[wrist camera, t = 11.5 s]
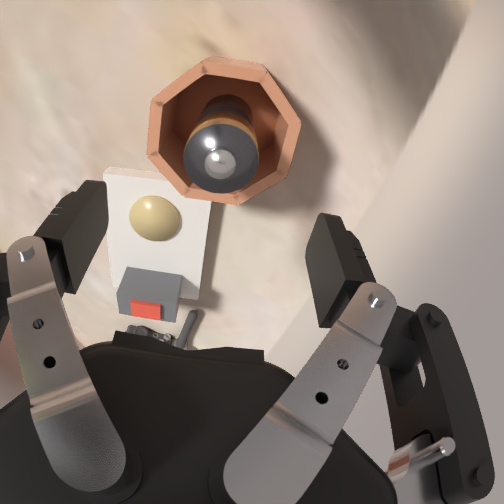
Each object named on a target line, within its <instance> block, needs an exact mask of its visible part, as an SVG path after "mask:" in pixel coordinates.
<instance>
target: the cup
mask: <svg viewBox="0 0 504 504" xmlns="http://www.w3.org/2000/svg"><path fill="white" fill-rule="evenodd" d="M224 94H231V95H235V96H238V97H240V98H242V99H243V100H245V101H246V102H247V104H248V105H249V106H250V108H251V111H252V115H253V122H254V129H255V134H256V137H257V144H258V151H259V164H258V168H257V171H256V173H255V175H254V177H253V178H252V180H251V181H250V182H249V183H248V184H247V185H246V186H244V187H243V188H241V189H239V190H237V191H234V192H231V193H224V194H218V193H212V192H208V191H205V190H203V189H201V188H200V187H198V186H197V185H196V184H194V183H193V182H192V181H191V179H190V178H189V177H188V175H187V173H186V171H185V168H184V162H183V154H184V149H185V146H186V143H187V141H188V139H189V137H190V135H191V133H192V131H193V129H194V127H195V126H196V124H197V122H198V120H199V118H200V116H201V114H202V111H203V109H204V108H205V106H206V104H207V103H208V102H209V101H210V100H211V99H213V98H215V97H217V96H219V95H224ZM152 99H153V100H151V105H150V116H149V127H148V141H147V155H148V158H149V159H150V161H151V162H152V163H153V164H154V165H155V166H156V167H157V168H158V170H159V171H160V172H161V173H162V174H163V175H164V176H165V177H166V179H167V180H168V181H169V182H170V183H171V184H172V185H173V186H174V188H175V189H176V190H177V191H178V192H179V193H180V194H181V195H182V196H183V195H184V197H185V198H192V199H199V200H206V201H213V202H219V203H226V204H232V205H237V204H239V205H240V204H242V203H244V202H245V201H247V200H249V199H250V198H252V197H254V196H255V195H257V194H259V193H260V192H262V191H264V190H266V189H267V188H269V187H271V186H273V185H274V184H276V183H278V182H279V181H281V180H283V179H285V178H286V177H285V176H287V175H288V171H289V168H290V164H291V161H292V157H293V153H294V150H295V146H296V143H297V139H298V135H299V132H300V128H301V121H300V119H299V117H298V116H297V114H296V113H295V111H294V110H293V108H292V107H291V105H290V104H289V102H288V100H287V99H286V97H285V96H284V94H283V93H282V91H281V90H280V89H279V87H278V86H277V84H276V83H275V81H274V80H273V78H272V77H271V75H270V74H269V73H268V71H267V70H266V68H265V67H264V66H262V64H258V63H253V62H247V61H241V60H235V59H229V58H222V57H215V56H212V57H209V58H207V59H205V60H203V61H201V62H200V63H198V64H197V65H195V66H194V67H193V68H191V69H190V70H188V71H187V72H186V73H184V74H183V75H182V76H180V77H179V78H178V79H176V80H175V81H174V82H172V83H171V84H170V85H168V86H167V87H166V88H165V89H163V90H162V91H161V92H160V93H158V94H157V95H156V96H155V97H153V98H152Z"/></svg>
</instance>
